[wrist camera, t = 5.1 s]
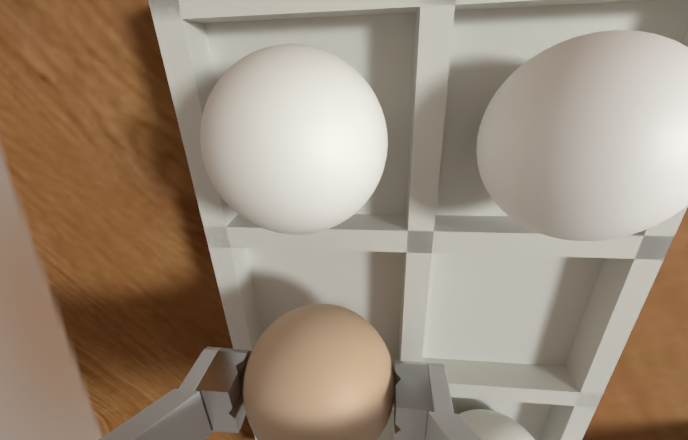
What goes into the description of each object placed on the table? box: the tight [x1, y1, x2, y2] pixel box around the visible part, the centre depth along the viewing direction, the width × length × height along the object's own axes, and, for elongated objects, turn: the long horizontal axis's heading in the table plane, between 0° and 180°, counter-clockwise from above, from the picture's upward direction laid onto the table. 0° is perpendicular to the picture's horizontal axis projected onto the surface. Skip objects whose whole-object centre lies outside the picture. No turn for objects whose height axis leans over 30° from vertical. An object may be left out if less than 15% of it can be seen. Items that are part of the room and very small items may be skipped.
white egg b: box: [200, 44, 388, 235], centre depth 9 cm, size 5×5×5 cm
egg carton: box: [148, 0, 688, 440], centre depth 13 cm, size 21×14×2 cm
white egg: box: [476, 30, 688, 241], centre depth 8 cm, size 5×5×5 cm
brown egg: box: [243, 304, 395, 440], centre depth 10 cm, size 5×5×5 cm
